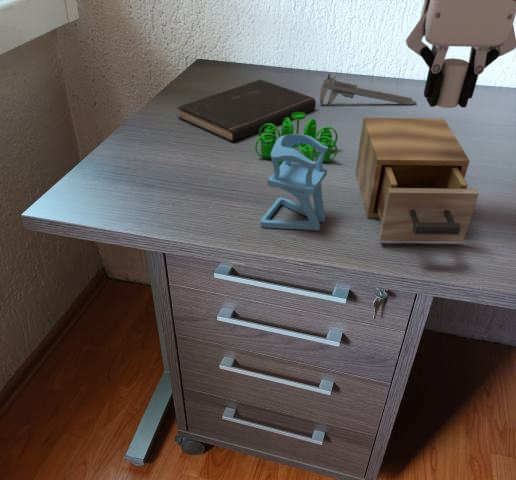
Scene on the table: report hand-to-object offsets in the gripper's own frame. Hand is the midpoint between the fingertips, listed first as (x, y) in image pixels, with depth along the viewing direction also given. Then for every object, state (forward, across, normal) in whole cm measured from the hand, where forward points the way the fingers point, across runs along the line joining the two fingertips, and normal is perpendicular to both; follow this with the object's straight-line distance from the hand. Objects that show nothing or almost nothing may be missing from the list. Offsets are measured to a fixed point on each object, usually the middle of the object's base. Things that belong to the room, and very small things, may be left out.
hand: (445, 102), depth 69 cm
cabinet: (+16, +2, -4) cm, 16 cm away
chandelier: (+16, +18, -18) cm, 30 cm away
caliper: (+16, +3, -42) cm, 45 cm away
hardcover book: (+16, +28, -36) cm, 48 cm away
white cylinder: (0, 0, 0) cm, 0 cm away
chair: (+16, +19, +4) cm, 25 cm away
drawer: (+15, +2, +6) cm, 16 cm away
